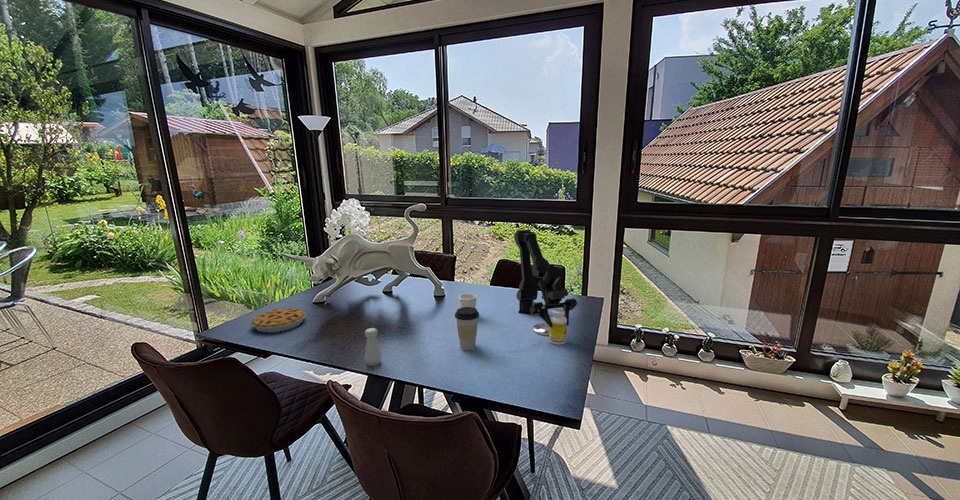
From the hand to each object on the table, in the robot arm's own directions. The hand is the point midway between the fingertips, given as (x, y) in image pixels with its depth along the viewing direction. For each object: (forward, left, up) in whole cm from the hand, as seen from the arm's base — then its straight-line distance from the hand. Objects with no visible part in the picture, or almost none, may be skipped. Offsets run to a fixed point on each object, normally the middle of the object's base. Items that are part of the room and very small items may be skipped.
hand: (559, 326), depth 151 cm
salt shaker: (-60, -38, -7) cm, 71 cm away
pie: (-123, -22, -7) cm, 125 cm away
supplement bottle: (-1, +1, -7) cm, 7 cm away
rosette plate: (-7, +10, -7) cm, 15 cm away
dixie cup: (-45, +14, -7) cm, 48 cm away
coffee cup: (-33, -15, -7) cm, 37 cm away
